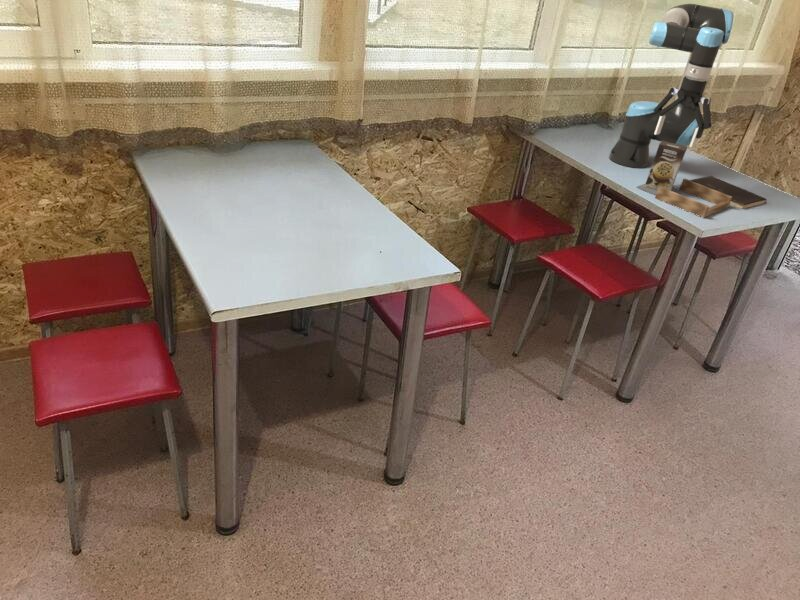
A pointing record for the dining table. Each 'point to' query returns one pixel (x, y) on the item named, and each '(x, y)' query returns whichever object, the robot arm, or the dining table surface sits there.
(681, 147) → the coffee box
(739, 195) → the hardcover book
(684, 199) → the shelf lane
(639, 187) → the mat
